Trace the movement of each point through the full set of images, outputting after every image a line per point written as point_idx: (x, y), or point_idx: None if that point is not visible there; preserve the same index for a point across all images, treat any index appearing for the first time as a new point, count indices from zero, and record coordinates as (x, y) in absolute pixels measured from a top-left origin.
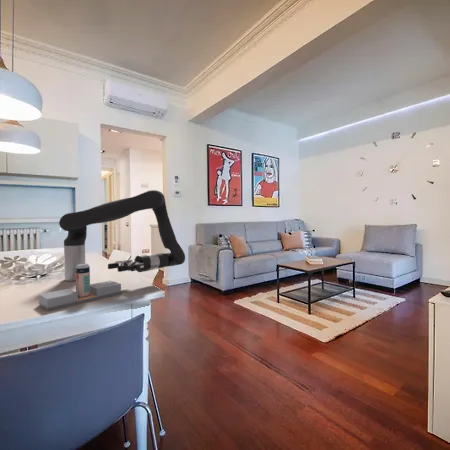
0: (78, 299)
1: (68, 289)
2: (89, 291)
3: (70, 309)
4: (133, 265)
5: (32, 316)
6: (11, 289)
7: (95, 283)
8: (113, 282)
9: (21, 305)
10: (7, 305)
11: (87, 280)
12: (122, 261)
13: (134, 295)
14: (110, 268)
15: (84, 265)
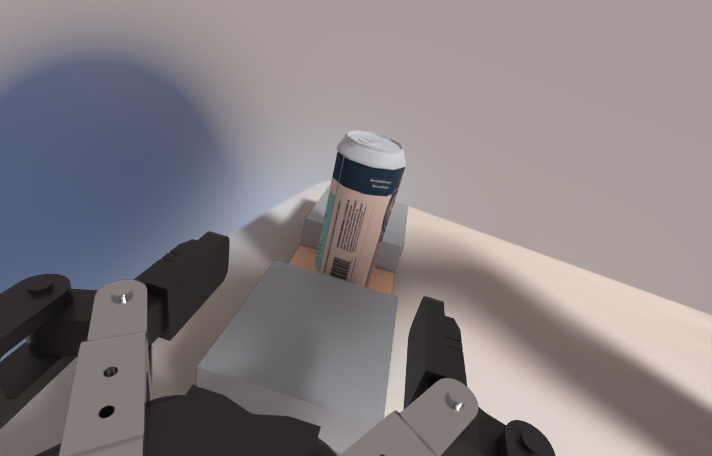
0: (310, 251)
1: (387, 239)
2: (318, 272)
3: (272, 224)
4: (16, 287)
5: (320, 196)
6: (684, 313)
7: (389, 326)
8: (296, 380)
9: (437, 231)
10: (464, 228)
11: (325, 214)
12: (389, 417)
13: (43, 417)
14: (409, 343)
15: (347, 133)
